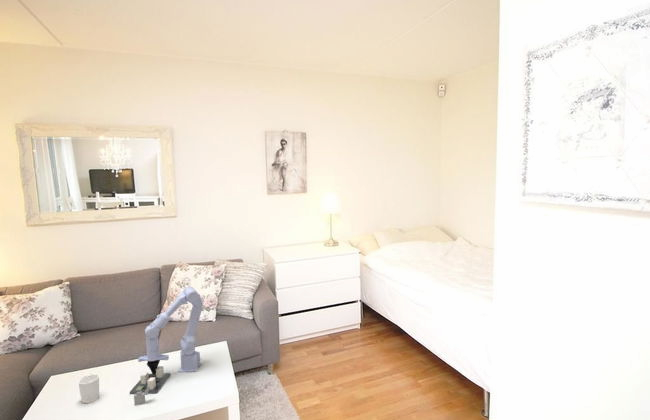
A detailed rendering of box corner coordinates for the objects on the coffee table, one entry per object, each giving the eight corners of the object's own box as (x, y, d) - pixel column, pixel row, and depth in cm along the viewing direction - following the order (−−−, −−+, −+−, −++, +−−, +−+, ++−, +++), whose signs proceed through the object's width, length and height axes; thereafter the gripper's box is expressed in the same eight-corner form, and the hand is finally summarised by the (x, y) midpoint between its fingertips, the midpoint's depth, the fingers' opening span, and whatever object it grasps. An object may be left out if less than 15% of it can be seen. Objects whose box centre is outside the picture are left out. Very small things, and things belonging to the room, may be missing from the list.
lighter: (134, 405, 152) (133, 388, 152) (135, 402, 154) (134, 386, 153) (151, 402, 154) (150, 385, 154) (152, 399, 156) (151, 383, 155)
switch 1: (148, 380, 169) (148, 371, 169) (145, 383, 166) (145, 375, 166) (144, 380, 169) (143, 372, 169) (140, 383, 166) (140, 375, 166)
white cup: (84, 406, 152) (83, 386, 151) (77, 400, 156) (75, 380, 155) (103, 397, 159) (102, 377, 158) (95, 391, 163) (94, 372, 162)
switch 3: (163, 374, 174) (163, 366, 174) (161, 377, 171) (160, 369, 171) (159, 374, 174) (158, 366, 174) (156, 377, 171) (155, 369, 171)
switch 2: (155, 385, 164) (155, 377, 164) (152, 389, 161) (152, 381, 161) (151, 385, 164) (150, 377, 164) (147, 389, 161) (147, 381, 161)
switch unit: (170, 375, 176) (170, 372, 175) (156, 393, 161) (156, 390, 161) (145, 376, 175) (145, 373, 175) (129, 394, 160) (129, 391, 160)
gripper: (170, 344, 176) (171, 368, 177) (142, 345, 175) (143, 370, 176) (164, 350, 169) (166, 376, 170) (135, 352, 168) (137, 377, 169)
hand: (154, 373), depth 173 cm, fingers closed
